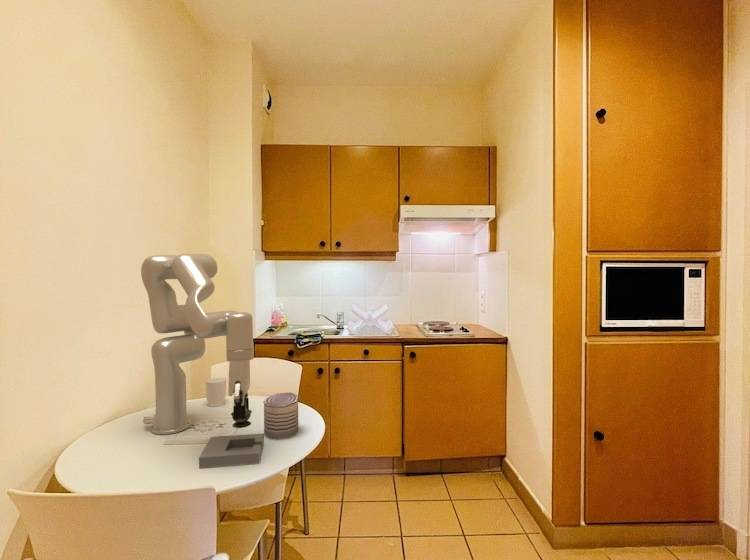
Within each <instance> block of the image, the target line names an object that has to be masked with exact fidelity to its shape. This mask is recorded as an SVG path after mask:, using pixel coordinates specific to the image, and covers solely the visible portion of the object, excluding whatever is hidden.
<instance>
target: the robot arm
mask: <svg viewBox="0 0 750 560" xmlns="http://www.w3.org/2000/svg"><path fill="white" fill-rule="evenodd" d="M217 273H218V264H217V261H216V260H215V258H214V257H213V256H211V255H208V254H200V253H199V254H198V253H183V254H177V255H176V254H156V255H151V256H147V257H146V258H145V259H144V260H143V261H142V264H141V269H140V276H141V280H142V284H143V286H144V288H145V290H146V293H147V296H148V303H149V309H150V317H151V322H152V327H153V330H154V332H156V333H158V334H172V333H179V332H183V333H184V334H182V335H173V336H166V337H163V338H160V339H158V340H156V341H155V342H153V344H152V346H151V351H150V352H151V357H152V364H153V367H154V384H155V414H154V415H152V416H144V417H143V419H142V422H143V424H144V425H150V426H151V427H150V432H151V433H152V434H154V435H155V434H156V435H171V434H175V433H176V434H177V433H180V432H184V431H186V430H188V429H189V428H190V427H191V426H192V420H191V419H190V418H187V417H188V416H187V376H186V372H185V371H184V369H182V368H181V366H180V364H182V363H186V362H190V361H192V362H193V361H196V360H198V359H201V358H203V356H204V354H205V352H206V342H205V339H211V338H218V337H225V344H226V345H225V346H226V347H225V348H226V353H225V354H226V362H228V363H229V365H228V396H229V397H232V396H233V407H232V409H233V411H232V412H234V420H238V419H245V405H244V395H245V394H246V398H247V401H246V406H247V409H248V410H250V409H249V402H250V401H249V389H250V386H251V363H250V361H252V360H254V329H253V328H254V327H253V326H254V325H253V316H252V314H251V313H250V312H238V311H235V310H223V311H222V310H221V311H211V312H205V311H204V309H203V308H202V307H201V304H200V303H202V302H204V301H206V300H207V299H208V298H210V296H211V295H213V293H214V292H215V284H214V282H213V280H212V279H213V278H215V276H216V275H217ZM167 280H177V281H178V282H179V284H180V285H181V287H182V289H183V290H184V292H185V293H186V295H187V298H186V300H185V304H178V299H177V293H176V291H175V290H174V288H173V287H172V285H171V284H169V283H168V282H167ZM241 392H243V393H242V394H240V393H241ZM240 397H242V399H241V398H240ZM234 420H233V421H234Z"/></svg>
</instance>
